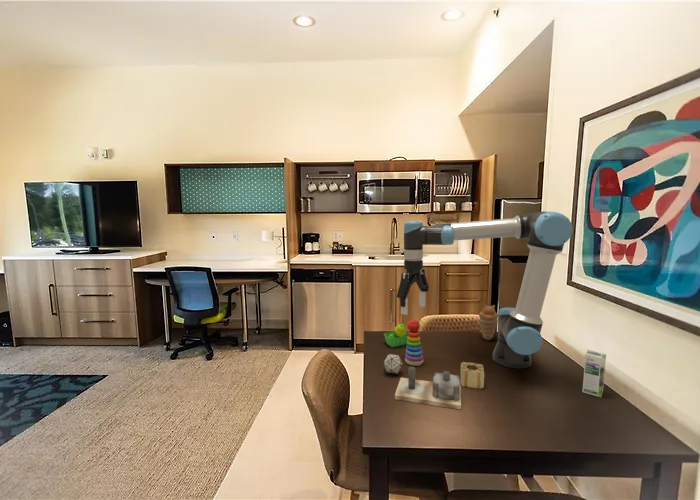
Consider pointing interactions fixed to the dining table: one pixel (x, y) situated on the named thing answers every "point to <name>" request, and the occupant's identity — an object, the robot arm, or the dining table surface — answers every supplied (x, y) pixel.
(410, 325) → the stacking toy
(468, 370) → the brass gear
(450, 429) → the dining table surface
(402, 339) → the fruit basket
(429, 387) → the gear board
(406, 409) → the dining table surface
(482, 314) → the cat ice cream
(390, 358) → the game die
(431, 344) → the dining table surface
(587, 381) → the syrup box
